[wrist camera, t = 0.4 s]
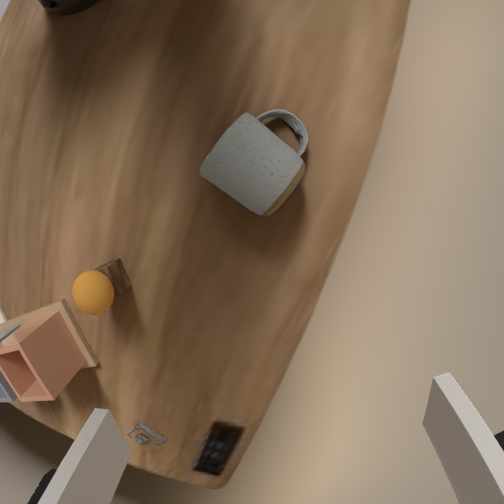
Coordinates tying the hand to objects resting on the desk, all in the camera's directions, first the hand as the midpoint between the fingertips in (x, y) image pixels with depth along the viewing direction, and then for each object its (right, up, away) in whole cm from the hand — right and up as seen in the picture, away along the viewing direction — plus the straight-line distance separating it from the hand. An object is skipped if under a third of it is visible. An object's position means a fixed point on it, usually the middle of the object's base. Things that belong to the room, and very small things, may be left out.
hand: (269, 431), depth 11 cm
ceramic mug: (0, +17, +23) cm, 29 cm away
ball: (-18, +3, +24) cm, 30 cm away
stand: (-18, +4, +27) cm, 33 cm away
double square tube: (-36, -8, +31) cm, 48 cm away
